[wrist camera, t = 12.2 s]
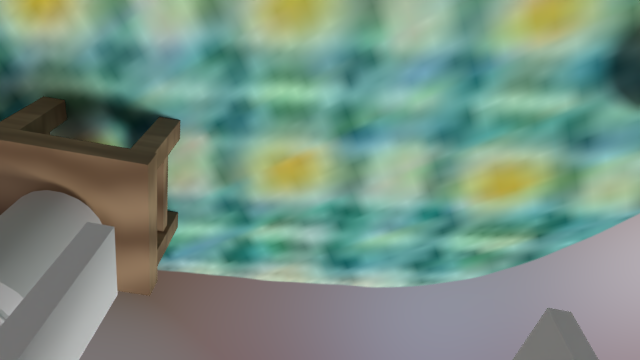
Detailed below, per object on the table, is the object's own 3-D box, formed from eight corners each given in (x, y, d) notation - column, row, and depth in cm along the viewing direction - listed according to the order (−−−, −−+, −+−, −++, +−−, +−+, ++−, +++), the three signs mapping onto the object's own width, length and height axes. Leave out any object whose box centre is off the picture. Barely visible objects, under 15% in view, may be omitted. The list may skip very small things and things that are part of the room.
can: (118, 259, 39) (39, 379, 29) (33, 255, 39) (-75, 374, 29) (100, 186, 35) (2, 294, 25) (6, 182, 36) (-130, 288, 25)
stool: (37, 90, 42) (-40, 133, 33) (185, 116, 43) (148, 164, 34) (54, 211, 49) (-6, 272, 40) (181, 231, 50) (149, 295, 41)
